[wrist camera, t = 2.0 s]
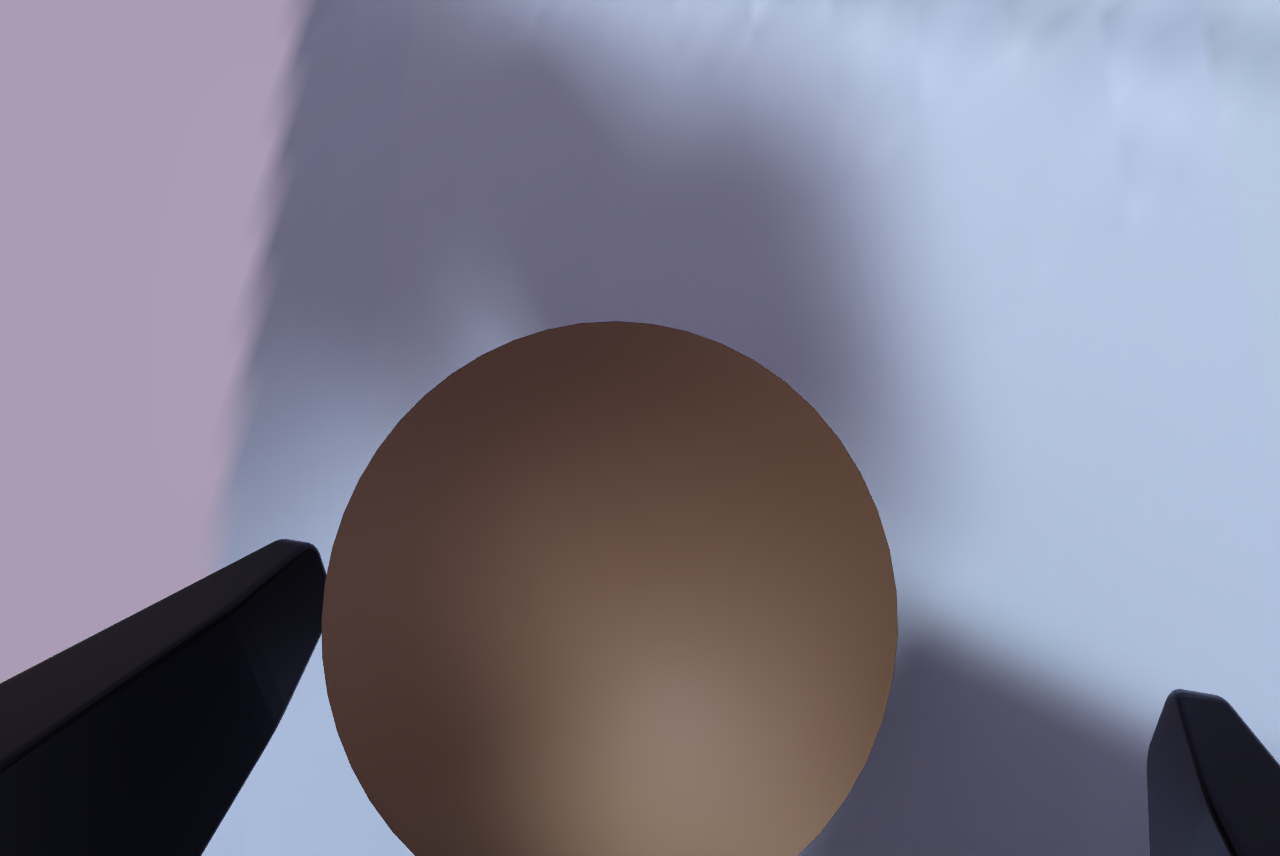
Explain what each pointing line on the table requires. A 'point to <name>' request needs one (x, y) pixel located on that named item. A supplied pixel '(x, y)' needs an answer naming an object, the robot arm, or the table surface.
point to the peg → (609, 606)
